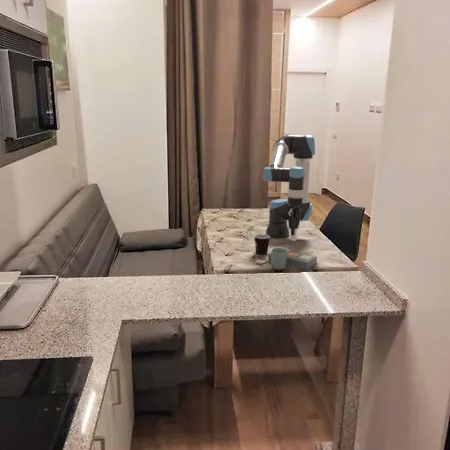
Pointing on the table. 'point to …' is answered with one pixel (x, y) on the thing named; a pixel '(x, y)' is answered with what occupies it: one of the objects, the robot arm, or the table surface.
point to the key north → (305, 257)
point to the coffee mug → (261, 244)
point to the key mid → (293, 255)
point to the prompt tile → (260, 261)
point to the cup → (278, 258)
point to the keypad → (299, 261)
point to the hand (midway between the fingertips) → (293, 240)
